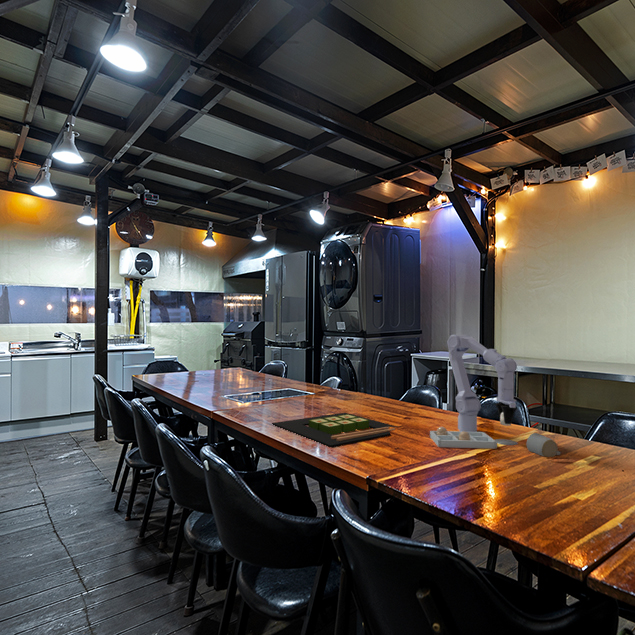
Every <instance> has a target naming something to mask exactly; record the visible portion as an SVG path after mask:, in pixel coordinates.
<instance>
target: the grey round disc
mask: <svg viewBox="0 0 635 635" xmlns="http://www.w3.org/2000/svg"><path fill="white" fill-rule="evenodd" d="M494 440H495V441H496V442H497V445H498V444H499V445H503V446H517V445H518V444H519V443H518V442H517V441H515V440H511V439H505V438H498V439H494Z"/></svg>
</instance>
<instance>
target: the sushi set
mask: <svg viewBox="0 0 635 635" xmlns="http://www.w3.org/2000/svg"><path fill="white" fill-rule="evenodd" d="M272 424H273V425H275V426H274V427H276V426H277V427H276V428H279V427H280V428H279V429H281V428H283V429H282V430H284V429H285V430H284V431H286V430H288V431H287V432H289V431H290V432H289V433H291V432H293V433H292V434H294V433H296V434H295V435H297V434H298V435H297V436H299V435H301V436H300V437H302V436H303V437H302V438H304V437H306V438H305V439H307V438H308V439H307V440H309V439H311V440H310V441H312V440H314V441H313V442H315V441H316V442H315V443H317V442H319V443H318V444H320V443H321V444H320V445H322V444H323V445H322V446H325V445H326V446H325V447H327V446H328V448H330V447H332V448H336V446H337V447H342V446H347V445H353V444H356V443H361V442H367V441H370V440H371V439H372V440H376V439H380V437H381V438H385V436H386V437H390V436H389V435H391V436H392V434H391V431H395V430H396V428H399V426H398V425H395V424H389V423H386V422H381V421H379V420H375V419H371V418H366V417H363V416H360V415H356V414H352V413H349V412H339V413H333V414H325V415H318V416H311V417H304V418H299V419H298V418H297V419H291V420H283V421H277V422H276V421H275V422H272V423H271V425H272ZM273 425H272V426H273ZM305 425H308V426H305ZM369 427H370V428H369ZM365 428H367V429H365ZM372 428H373V429H372ZM356 429H357V430H356ZM360 429H362V430H360ZM355 430H356V431H355ZM350 431H351V432H350ZM343 432H345V433H343ZM338 433H340V434H338ZM332 434H334V435H332ZM341 445H342V446H341Z"/></svg>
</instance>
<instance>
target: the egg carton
mask: <svg viewBox="0 0 635 635" xmlns="http://www.w3.org/2000/svg"><path fill="white" fill-rule="evenodd" d="M460 433H461V432H460V430H458V431H454V430H453V431H452V430H451V431H449V430H447V435H437V430H429V438H430V439H431V440H432V441H433V443H435V445H436V446H437V447H438V448H457V449H458V448H459V449H460V448H461V449H462V448H463V449H465V448H466V449H493V450H494V449H498V443H497V442H496V441H495V440H496V439H493V437H491V436H489V435H488V434H487V433H486V432H484V431H477V432H468V433H469V435H470V440H459V434H460Z"/></svg>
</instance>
